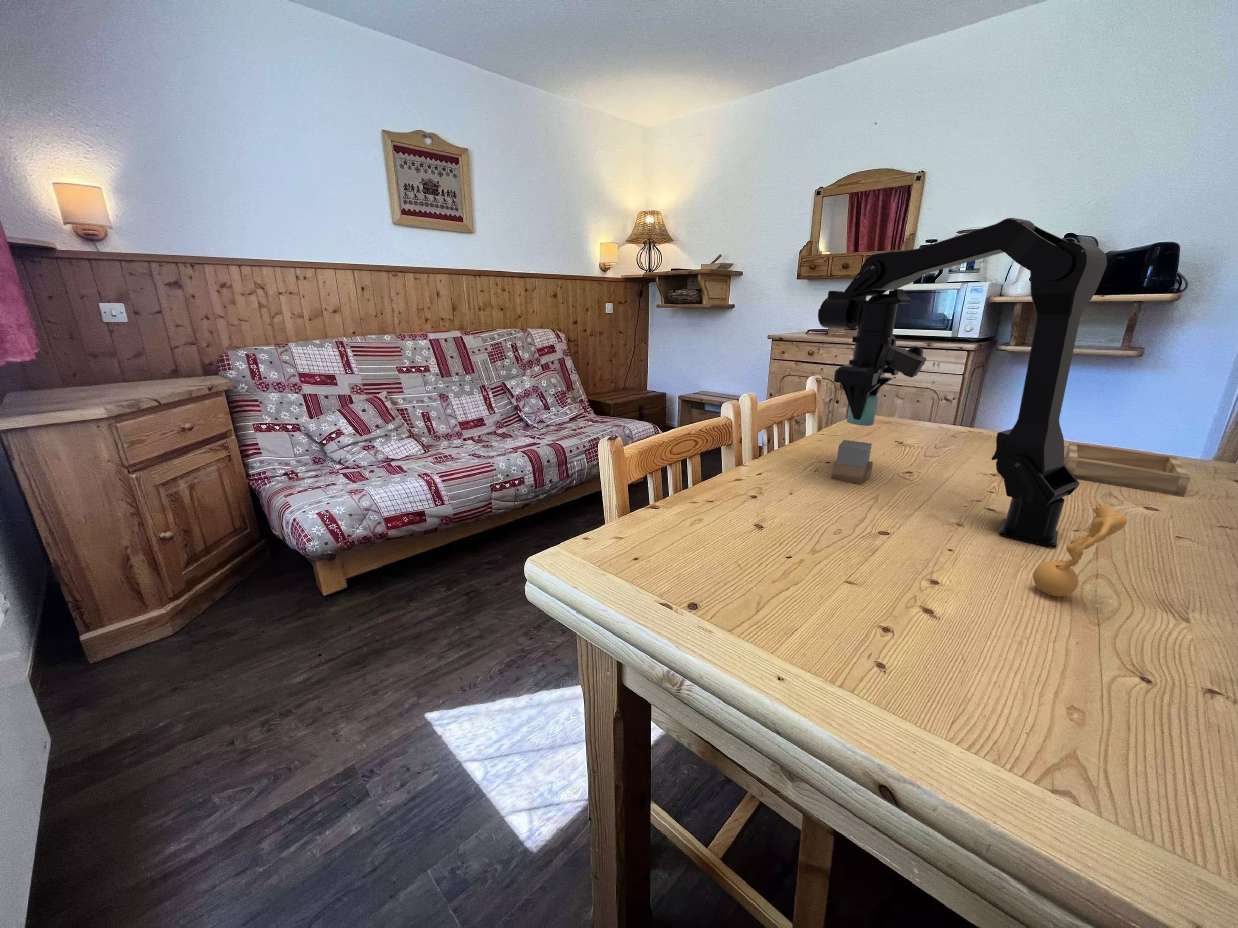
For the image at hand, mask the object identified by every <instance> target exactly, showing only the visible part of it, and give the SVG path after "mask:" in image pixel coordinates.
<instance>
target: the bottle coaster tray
mask: <svg viewBox="0 0 1238 928" xmlns="http://www.w3.org/2000/svg"><path fill="white" fill-rule="evenodd" d="M1064 464H1065V466H1066V467H1067V468H1068V469H1069V471H1070V472H1071V473H1072V474H1073V476H1074V477H1075V478H1076V479H1077V480H1081V481H1088V482H1093V483H1097V484H1098V483H1099V484H1105V485H1110V486H1116V487H1122V488H1130V489H1136V490H1139V491H1140V490H1141V491H1147V492H1152V491H1153V493H1157V492H1159V493H1158V494H1163V493H1164V494H1163V495H1169V494H1170V496H1175V495H1177V497H1181V496H1182V497H1184V496H1185V494H1186V491H1187V489H1188V486H1189V483H1190V482H1191V478H1192V477H1191V476H1190V474H1189V473H1188V471H1187V470H1186V469H1185V467H1184V465H1183V464H1182V462H1181V461H1180V460H1179V459H1178V457H1177V456H1172V455H1165V454H1157V453H1152V452H1151V453H1150V452H1143V451H1135V450H1128V449H1120V448H1113V447H1106V446H1105V447H1104V446H1098V445H1090V444H1084V443H1083V444H1082V443H1077V442H1076V443H1075V442H1068V446H1067V449H1066V453H1065V455H1064Z"/></svg>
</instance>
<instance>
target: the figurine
mask: <svg viewBox="0 0 1238 928" xmlns="http://www.w3.org/2000/svg"><path fill="white" fill-rule="evenodd" d="M1092 512H1094V513H1095V516H1094V517H1093V519H1092V521H1091V525H1090V527H1088V528H1087V530H1086V531H1085V533H1087V534H1086V535H1085V534H1084V535H1082V536H1080V537H1077V538H1074V539H1072V540H1070V542H1069V544H1067V545H1066V552H1067V553H1068V554H1069V556H1070V559H1067V560H1063V559H1060V560H1058V561H1051V560H1050V561H1045V562H1043V563H1040V564H1038V566H1036V567H1035V569H1034V571H1033V574H1032V580H1033V583H1034V585H1035V586H1036V587H1037V588H1038V589H1039V590H1040V591H1041V592H1042V593H1044V594H1046V595H1049V596H1053V597H1066V596H1070V595H1071V594H1073V593H1074V592H1075V591H1076V590H1077V589H1078V586H1079V576H1078V574H1077V573H1076V571H1075V570H1074V569H1073V568H1072V567H1074V566H1076V565H1078V564H1079V562H1080V560H1081V559H1082V556H1084V555H1083V554H1084V553H1083V550H1088V549H1090V548H1092V547H1094V545H1096V544H1097V543H1099V542H1102V541H1105V540H1106V539H1107V537H1110V536H1112V535H1115V534H1117V533H1118V532H1119V531H1121V530H1122V529H1124V528H1125V526H1126V525H1127V523H1128V519H1127V517H1126V516H1125V515H1124V514H1122V513H1120V512H1117V511H1115V510H1112V509H1110V507H1108V506H1107V505H1105V504H1104V503H1098V504H1095V506H1094V507H1093V508H1092Z"/></svg>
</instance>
